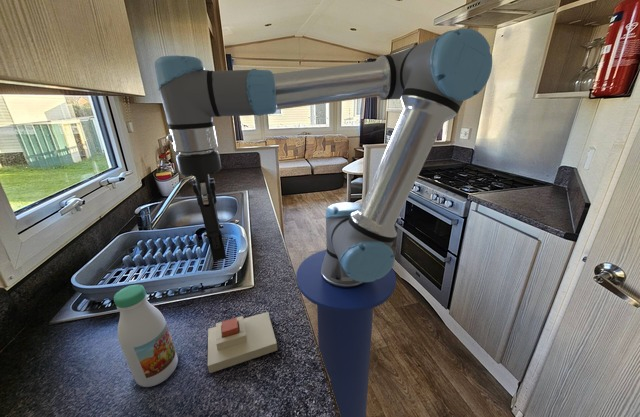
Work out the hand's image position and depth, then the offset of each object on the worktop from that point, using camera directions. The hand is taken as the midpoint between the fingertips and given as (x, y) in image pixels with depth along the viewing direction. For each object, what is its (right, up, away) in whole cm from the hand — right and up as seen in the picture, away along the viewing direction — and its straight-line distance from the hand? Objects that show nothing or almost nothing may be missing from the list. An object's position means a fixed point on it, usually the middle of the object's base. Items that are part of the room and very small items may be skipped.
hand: (219, 258), depth 58 cm
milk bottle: (-11, -22, -4) cm, 25 cm away
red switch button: (+2, -16, 0) cm, 16 cm away
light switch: (+5, -20, +1) cm, 20 cm away
